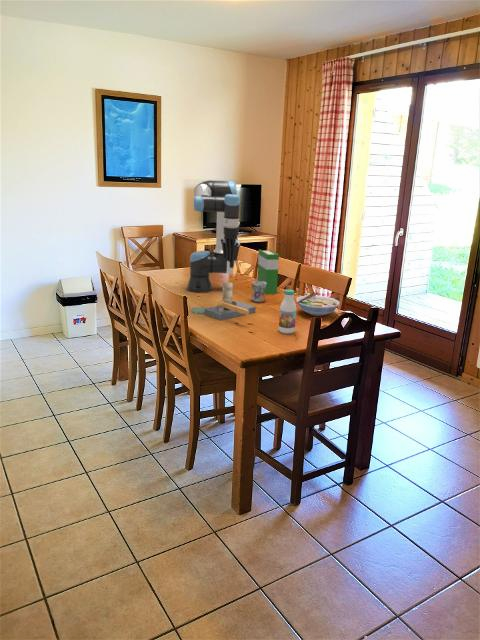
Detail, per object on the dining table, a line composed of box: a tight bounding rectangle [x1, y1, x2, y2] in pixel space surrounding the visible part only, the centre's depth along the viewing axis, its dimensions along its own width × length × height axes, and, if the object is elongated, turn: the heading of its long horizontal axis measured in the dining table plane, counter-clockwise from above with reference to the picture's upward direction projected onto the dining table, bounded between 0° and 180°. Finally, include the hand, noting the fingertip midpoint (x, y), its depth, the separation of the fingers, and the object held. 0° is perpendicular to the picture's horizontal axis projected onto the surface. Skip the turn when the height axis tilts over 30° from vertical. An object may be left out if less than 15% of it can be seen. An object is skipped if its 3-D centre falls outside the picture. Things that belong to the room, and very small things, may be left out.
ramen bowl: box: [296, 292, 340, 317], centre depth 265 cm, size 25×23×8 cm
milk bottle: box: [278, 289, 297, 335], centre depth 234 cm, size 8×8×20 cm
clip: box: [217, 300, 250, 316], centre depth 247 cm, size 4×21×2 cm, turn 44°
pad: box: [190, 307, 206, 315], centre depth 263 cm, size 9×9×1 cm
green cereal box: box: [256, 248, 280, 295], centre depth 308 cm, size 18×7×24 cm, turn 14°
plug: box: [221, 281, 237, 310], centre depth 260 cm, size 10×10×16 cm
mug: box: [250, 280, 267, 303], centre depth 287 cm, size 12×9×11 cm
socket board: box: [203, 301, 257, 321], centre depth 261 cm, size 13×24×6 cm, turn 132°
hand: (229, 273), depth 255 cm, fingers closed
